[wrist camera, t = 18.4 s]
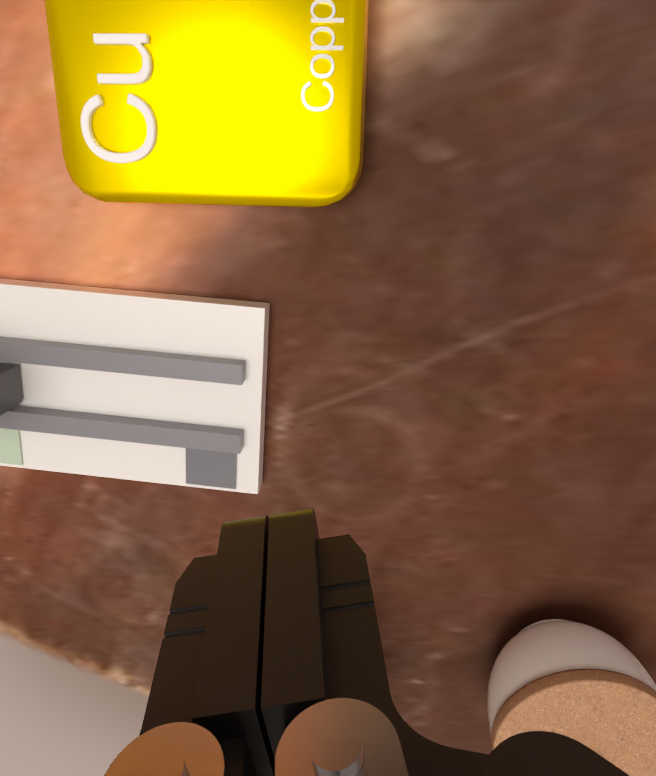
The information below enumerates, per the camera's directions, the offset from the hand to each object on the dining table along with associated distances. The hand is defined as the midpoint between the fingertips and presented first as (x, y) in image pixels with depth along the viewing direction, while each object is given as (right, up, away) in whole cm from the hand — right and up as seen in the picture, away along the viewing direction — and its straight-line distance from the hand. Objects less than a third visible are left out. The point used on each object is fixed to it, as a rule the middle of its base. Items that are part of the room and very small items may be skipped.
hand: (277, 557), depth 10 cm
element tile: (-5, +21, +22) cm, 30 cm away
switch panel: (-13, +3, +28) cm, 31 cm away
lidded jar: (+17, -16, +32) cm, 40 cm away
